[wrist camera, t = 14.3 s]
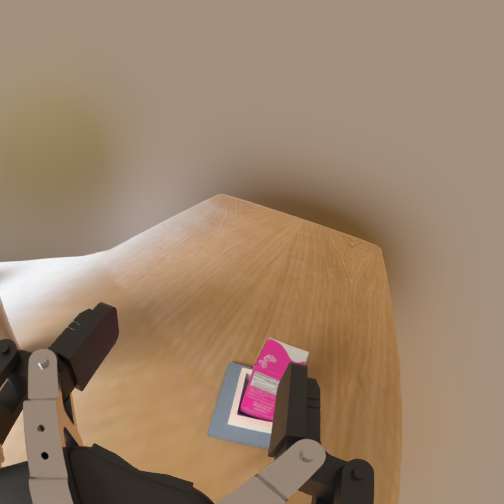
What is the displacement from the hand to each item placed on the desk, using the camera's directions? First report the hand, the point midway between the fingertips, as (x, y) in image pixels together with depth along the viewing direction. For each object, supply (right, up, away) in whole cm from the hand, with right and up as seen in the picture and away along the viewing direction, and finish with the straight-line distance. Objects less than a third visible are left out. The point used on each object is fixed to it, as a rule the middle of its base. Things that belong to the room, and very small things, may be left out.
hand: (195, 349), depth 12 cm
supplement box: (+4, -19, +26) cm, 32 cm away
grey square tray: (+4, -19, +27) cm, 33 cm away
